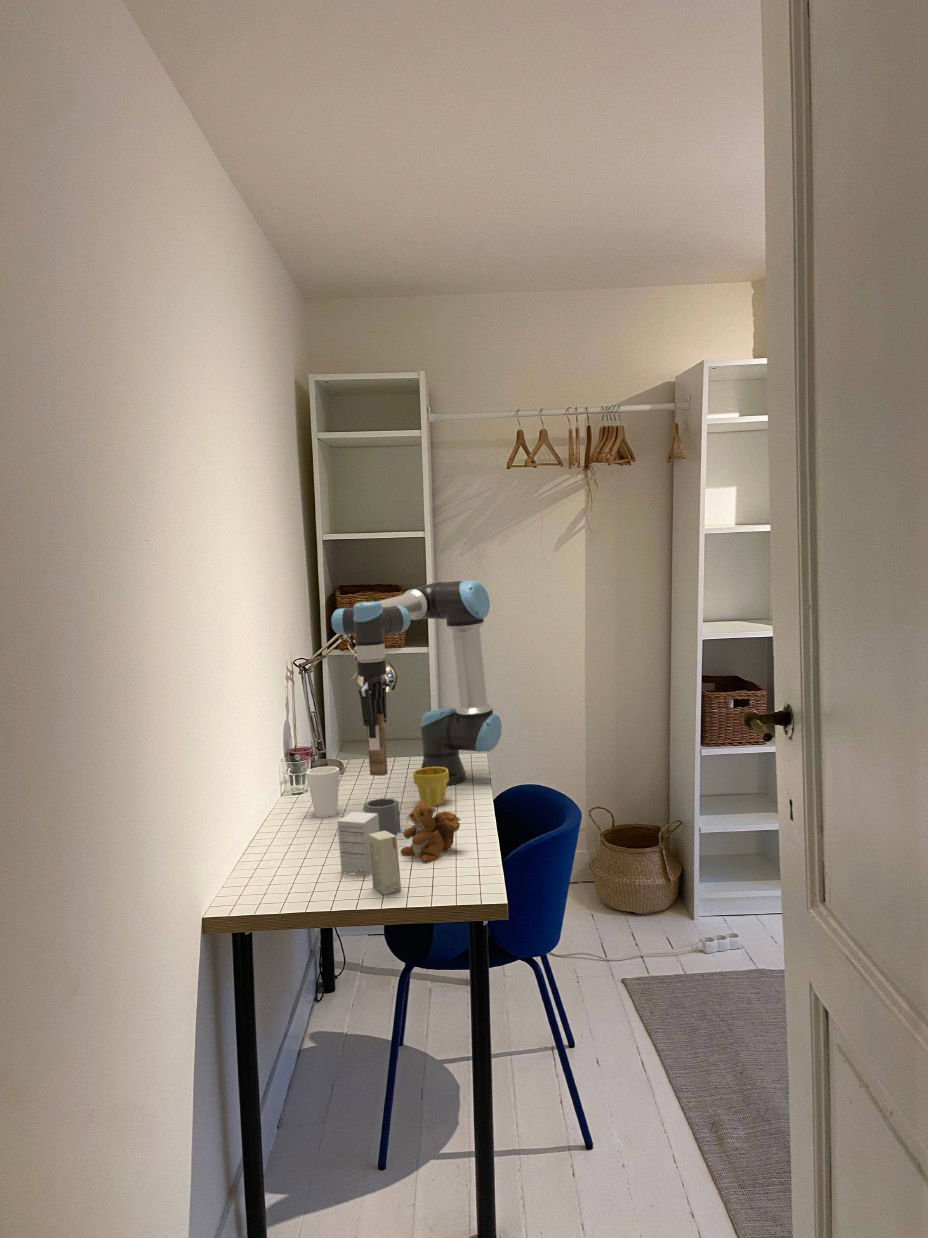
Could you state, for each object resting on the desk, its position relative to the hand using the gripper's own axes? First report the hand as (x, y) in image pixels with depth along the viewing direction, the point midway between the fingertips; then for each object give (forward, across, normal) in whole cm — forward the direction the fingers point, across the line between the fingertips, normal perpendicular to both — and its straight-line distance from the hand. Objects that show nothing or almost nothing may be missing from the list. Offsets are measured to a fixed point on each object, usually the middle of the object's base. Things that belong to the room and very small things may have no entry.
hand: (377, 748), depth 234 cm
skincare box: (+23, +38, +17) cm, 47 cm away
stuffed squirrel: (+23, +14, +19) cm, 33 cm away
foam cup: (+23, -14, -24) cm, 36 cm away
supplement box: (+23, +27, +6) cm, 36 cm away
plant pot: (+23, -28, +4) cm, 37 cm away
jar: (+23, 0, 0) cm, 23 cm away
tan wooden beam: (+7, 0, 0) cm, 7 cm away
